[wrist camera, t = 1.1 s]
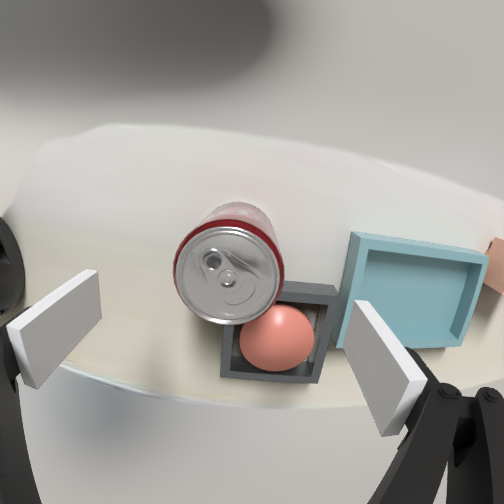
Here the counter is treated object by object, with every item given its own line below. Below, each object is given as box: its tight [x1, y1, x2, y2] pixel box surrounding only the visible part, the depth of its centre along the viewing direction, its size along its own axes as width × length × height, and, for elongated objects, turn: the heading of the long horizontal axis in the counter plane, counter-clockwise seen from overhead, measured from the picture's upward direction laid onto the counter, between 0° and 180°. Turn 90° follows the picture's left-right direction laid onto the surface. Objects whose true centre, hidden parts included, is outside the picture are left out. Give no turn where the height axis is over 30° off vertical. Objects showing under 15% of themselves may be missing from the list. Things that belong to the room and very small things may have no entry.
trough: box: [331, 232, 489, 349], centre depth 30 cm, size 18×12×3 cm, turn 84°
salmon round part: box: [239, 304, 314, 371], centre depth 31 cm, size 8×8×2 cm
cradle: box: [220, 281, 340, 384], centre depth 31 cm, size 11×11×3 cm
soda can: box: [173, 202, 285, 326], centre depth 25 cm, size 7×7×12 cm
